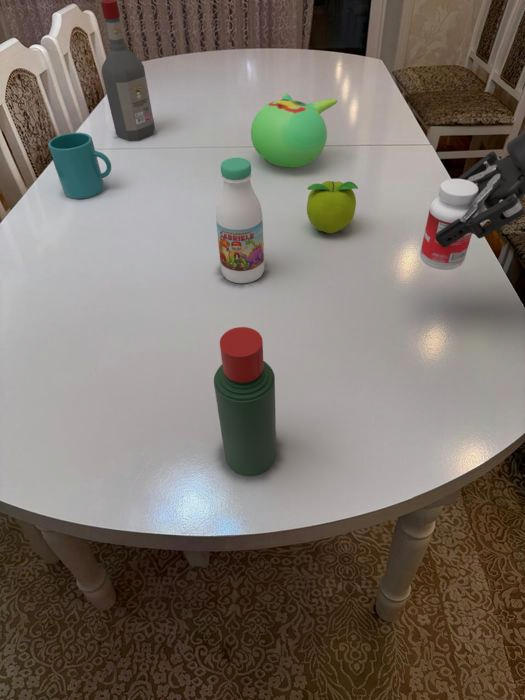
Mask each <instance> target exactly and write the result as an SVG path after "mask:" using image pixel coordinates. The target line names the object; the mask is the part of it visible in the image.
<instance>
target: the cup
mask: <svg viewBox="0 0 525 700" xmlns="http://www.w3.org/2000/svg"><path fill="white" fill-rule="evenodd" d="M47 146H48V150H49V152H50V156H51V158H52V162H53V164H54V168H55V170H56V174H57V177H58V179H59V182H60V185H61V189H62V191H63V194H64V195H65V196H66V197H68V198H71V199H76V200H82V199H89V198H93V197H95V196H98V195H99V194H100V193H101V192H103V190H104V188H105V182H104V179H105V178H107V177H108V176H109V175H110V174H111V172H112V163H111V160H110V159H109V158H108V156H107V155H106V154H104V153H102V152H101V151H98V150H96V147H95V144H94V141H93V137H92V136H91V135H90V134H88V133H84V132H69V133H67V132H66V133H62V134H60V135H57V136H55V137H53V138H51V139H50V140H49V141H48V143H47ZM98 158H100V159H101V160H102V161H103V162H104V163H105V165H106V170H105V171H104V172H102V171H101V167H100V163H99V159H98Z"/></svg>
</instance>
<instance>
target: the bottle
mask: <svg viewBox="0 0 525 700" xmlns="http://www.w3.org/2000/svg"><path fill="white" fill-rule="evenodd" d="M263 364H264V368H263V371H262V373H261V375H260V376H259V377H257V378H256V379H254V380H252V381H249V382H235V381H232V380H230V379H229V378H228V377H227V376H226V375H225V374H224V372H223V366H222V364H221V365H220V366H219V367H218V369H216V371H215V373H214V376H213V387H214V393H215V399H216V407H217V413H218V421H219V426H220V433H221V439H222V446H223V453H224V458H225V459H224V460H225V462H226V465H227V466H228V467H229V468H230V470H232V471H233V472H234V473H236V474H238V475H242V476H246V477H254V476H258V475H261V474H263V473H265V472H267V471H268V470H269V469H270V468H271V467H272V466H273V465H274V463H275V461H276V458H277V425H276V423H277V421H276V420H277V419H276V377H275V372H274V370H273V368H272V367H271V366H270V365H269V364H268V363H267V362H266V361H265V360H263Z"/></svg>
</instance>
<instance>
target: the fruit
mask: <svg viewBox="0 0 525 700" xmlns="http://www.w3.org/2000/svg"><path fill="white" fill-rule="evenodd" d="M306 189H307V190H308V191H310V192H309V194H308V197H307V203H306V215H307V218H308V220H309V222H310V223H311V225H312V226H313V227H314V228H315V229H316V230H318V231H320V232H324V233H325V234H334V233H336V232H339V231H341V230H343V229H345V228H346V227H348V225H350V223H351V222H352V221H353V219H354V217H355V213H356V206H357V199H356V194H355V192H354V190H359V187H358V185H357V184H356V183H354V182H353V181H345V182H344V183H343V182H342V181H334V180H332V181H331V180H327V181H324V182H322V183H312V184H310V185H308V187H307V188H306Z"/></svg>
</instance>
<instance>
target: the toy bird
mask: <svg viewBox="0 0 525 700" xmlns="http://www.w3.org/2000/svg"><path fill="white" fill-rule="evenodd" d="M338 101H339V100H338V99H337V98H330V99H324V100H318V101H314V102H309V103H306V102H303V101H300V100H296V99H295V100H294V99H293V97H291V95H289V93H284V94H283V95H282V97H281V99H277V100H274V101H272V102H269V103H267V104H265V105H264V106H263V107H262V108H260V110H259V111H258V112H257V113H256V115H255V116H254V118H253V120H252V122H251V127H250V138H251V143H252V146H253V147H254V149H255V151H256V153H258V154H259V156H260V157H261V158H263V159H264V160H265V161H266V162H267V163H270V164H272V165H274V166H277V167H282V168H299V167H300V168H301V167H305V166H306V165H309V164H310V163H312V162H314V161H315V160H316V159H317V158H318V157H319V156H320V155H321V153H322V152H323V151H324V149H325V145H326V143H327V140H328V139H327V138H328V130H327V129H328V128H327V125H326V122H325V120H324V118H323V116H322V113H324V112H325V111H327V110H328V109H330V108H331V107H333V106H334V105H336V104H337V103H338Z"/></svg>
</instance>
